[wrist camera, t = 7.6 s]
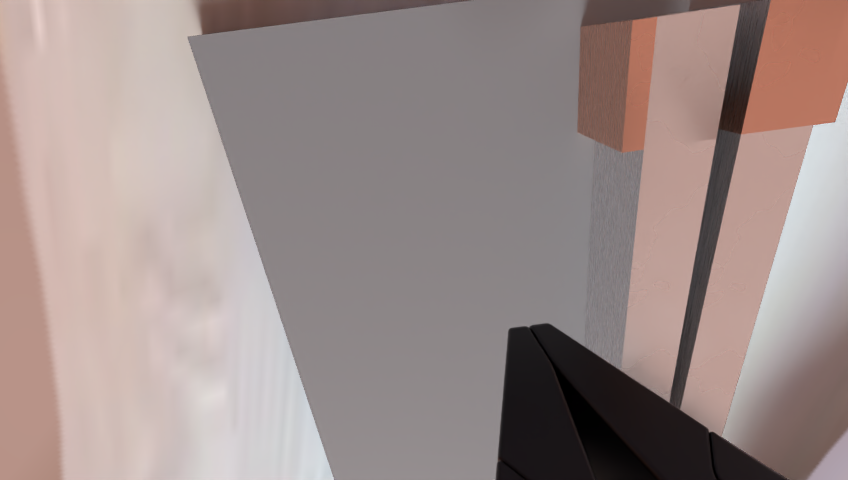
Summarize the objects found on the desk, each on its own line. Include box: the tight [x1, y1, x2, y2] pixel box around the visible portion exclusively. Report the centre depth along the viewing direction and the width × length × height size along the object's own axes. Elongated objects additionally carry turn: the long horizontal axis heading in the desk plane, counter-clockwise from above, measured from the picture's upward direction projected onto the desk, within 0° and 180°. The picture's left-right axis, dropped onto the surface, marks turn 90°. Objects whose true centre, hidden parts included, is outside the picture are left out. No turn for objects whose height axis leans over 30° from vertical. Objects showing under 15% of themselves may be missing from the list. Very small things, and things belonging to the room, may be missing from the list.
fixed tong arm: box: [669, 0, 848, 436], centre depth 15 cm, size 21×4×3 cm, turn 6°
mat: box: [188, 0, 761, 480], centre depth 17 cm, size 22×20×1 cm
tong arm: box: [577, 5, 740, 402], centre depth 15 cm, size 21×6×4 cm, turn 7°
